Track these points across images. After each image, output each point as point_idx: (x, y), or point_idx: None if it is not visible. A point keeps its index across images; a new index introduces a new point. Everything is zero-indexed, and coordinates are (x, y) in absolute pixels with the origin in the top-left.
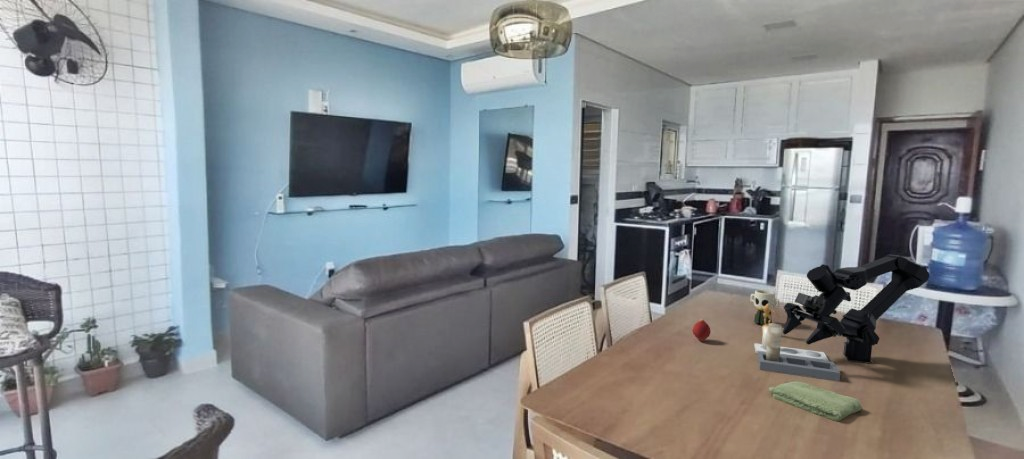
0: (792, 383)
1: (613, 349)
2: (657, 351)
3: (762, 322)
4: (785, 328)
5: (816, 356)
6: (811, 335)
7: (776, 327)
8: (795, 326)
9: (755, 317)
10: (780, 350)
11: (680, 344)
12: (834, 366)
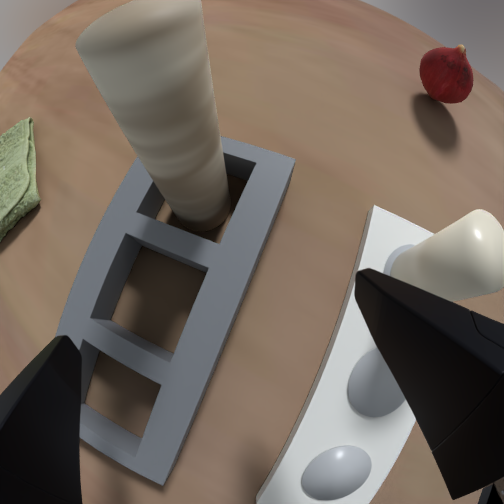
0: (12, 170)
1: None
2: (307, 5)
3: None
4: (388, 289)
5: (302, 477)
6: (21, 386)
7: (92, 29)
8: (429, 431)
9: None
10: None
11: (378, 46)
12: (99, 445)
